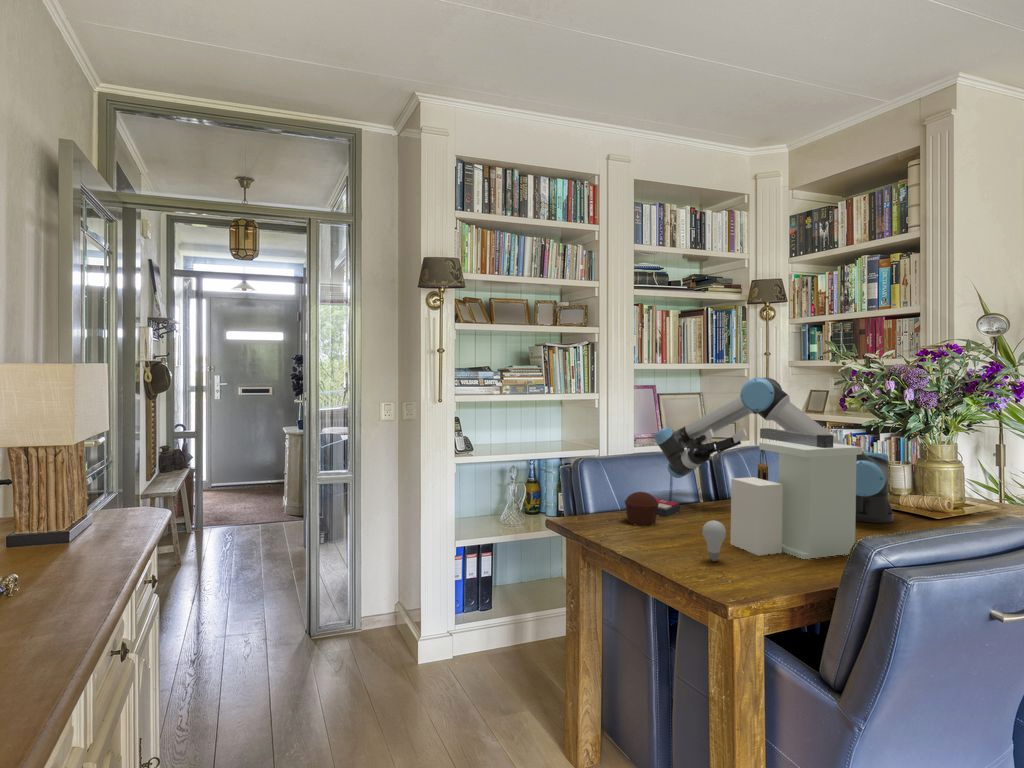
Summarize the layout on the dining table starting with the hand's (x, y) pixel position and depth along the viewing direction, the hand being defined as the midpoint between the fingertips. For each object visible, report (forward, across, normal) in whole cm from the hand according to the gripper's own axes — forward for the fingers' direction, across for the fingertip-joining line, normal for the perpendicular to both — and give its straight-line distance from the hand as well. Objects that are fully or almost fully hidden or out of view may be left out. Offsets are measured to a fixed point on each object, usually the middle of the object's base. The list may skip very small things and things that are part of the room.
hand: (728, 432), depth 219 cm
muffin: (-20, +30, -24) cm, 43 cm away
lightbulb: (+19, +34, -46) cm, 60 cm away
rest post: (+14, +15, -42) cm, 47 cm away
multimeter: (-37, -41, -13) cm, 57 cm away
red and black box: (-32, +17, -18) cm, 40 cm away
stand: (+17, 0, -44) cm, 47 cm away
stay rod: (+27, 0, -15) cm, 31 cm away
